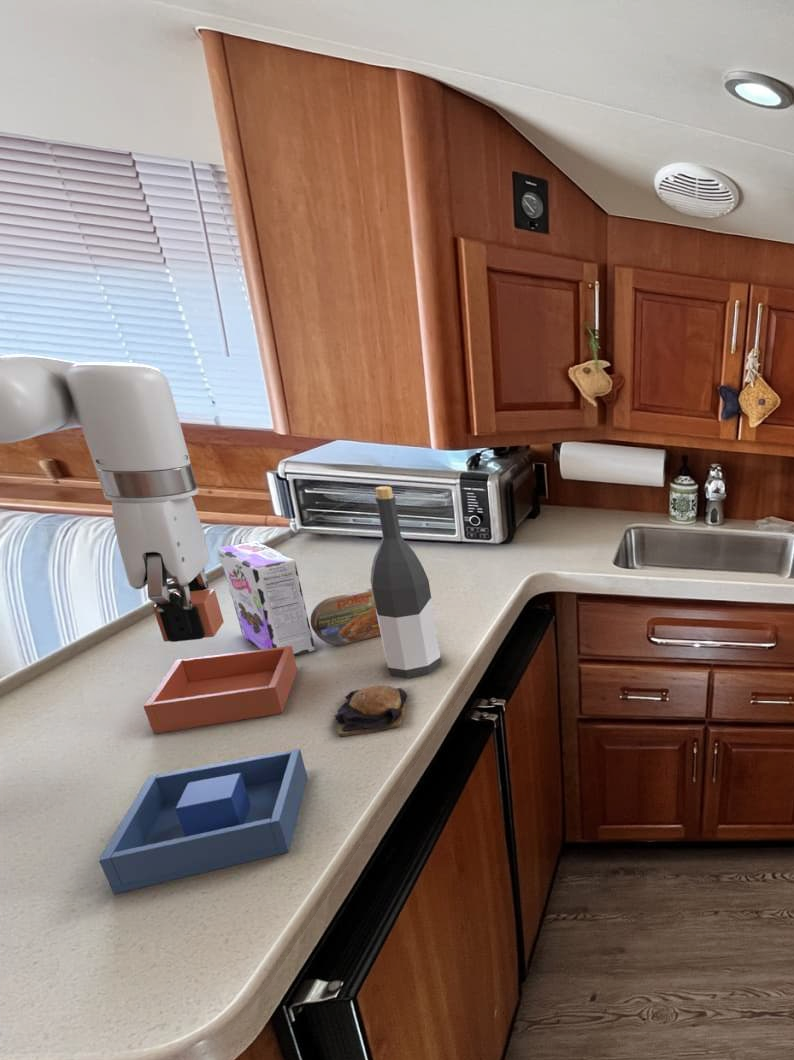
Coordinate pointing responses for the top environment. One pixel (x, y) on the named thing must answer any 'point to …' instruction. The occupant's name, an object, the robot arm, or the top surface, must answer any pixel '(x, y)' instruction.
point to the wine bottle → (402, 599)
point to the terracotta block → (201, 612)
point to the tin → (346, 618)
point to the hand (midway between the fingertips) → (194, 628)
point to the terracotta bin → (222, 689)
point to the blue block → (213, 804)
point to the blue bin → (167, 854)
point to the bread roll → (371, 710)
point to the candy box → (267, 596)
